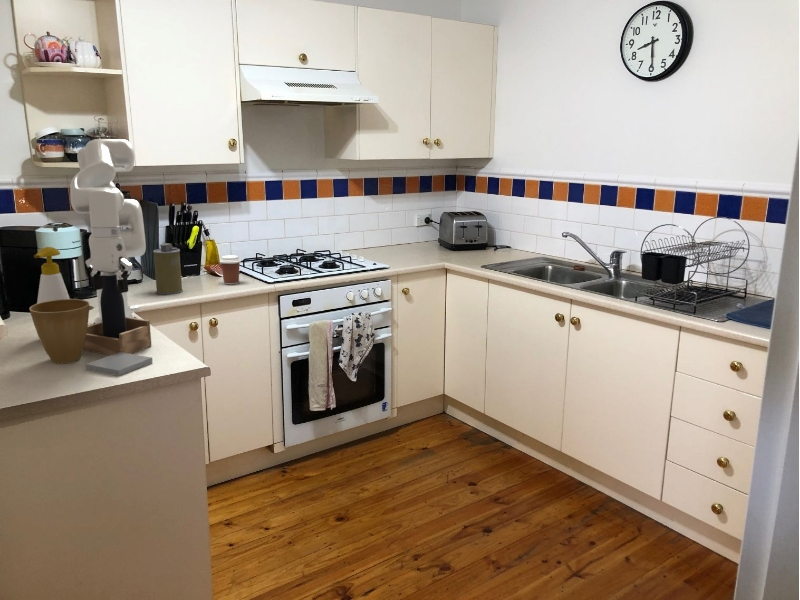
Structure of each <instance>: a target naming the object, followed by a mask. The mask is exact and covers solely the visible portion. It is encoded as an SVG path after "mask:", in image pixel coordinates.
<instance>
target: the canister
mask: <svg viewBox="0 0 800 600" xmlns="http://www.w3.org/2000/svg"><path fill="white" fill-rule="evenodd" d="M159 246H160V248H158V249H154V250H153V251H152V252H153V258H154V259H153V261H154V273H155V286H156V292H155V293H157V294H159V295H176V294H180V293H182V292H184V291H183V284H182V283H183V282H182V271H181V270H182V269H181V268H182V267H181V254H180V253H181V252H180V251H181V250H180V248H178V247H174V246H173V244H172V243H167V242H165V243H162V244H161V243H160V244H159Z"/></svg>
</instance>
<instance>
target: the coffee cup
mask: <svg viewBox="0 0 800 600" xmlns="http://www.w3.org/2000/svg"><path fill="white" fill-rule="evenodd" d="M241 262H242V260H241V258H239V256H238V255H237V254H236V255H233V254H230V255H229V254H228V255H223V256H221V259H220V260H219V263H220V265H221V271H222V279H223V285H226V284H235V285H238V284H240V264H241ZM237 283H238V284H237Z"/></svg>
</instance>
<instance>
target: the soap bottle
mask: <svg viewBox="0 0 800 600" xmlns="http://www.w3.org/2000/svg"><path fill="white" fill-rule="evenodd" d="M59 255H61V251H59V249H57V248H55V247H52V246H45V247H42V248H41V249H39V250H38V251H37V253H36V254H34V255H33V257H34V258H35V259H37V258H38V259H39V258H40V259H42V258H46V262H44V263H42V265H41V274H40V279H39V285H38V287H39V288H38V292H37V293H38V294H37V300H36V301H37V302H36V304H38V303H42V302H46V301H52V300H61V299H71V298H70V294H69V293H68V290H67V287H66V284H65V282H64V279H63V276H62V273H61V272H60V267H59V264H57V262H53V259H52V257H55V256H59Z"/></svg>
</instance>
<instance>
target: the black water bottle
mask: <svg viewBox="0 0 800 600" xmlns="http://www.w3.org/2000/svg"><path fill="white" fill-rule="evenodd" d="M103 274H104V275H103V283H104V285H103V289H102V293H101V300H100V304H101V315H102V325H103V335H104V336H105V337H111V338H117V339H119V334H120V333H123V332H126V331H127V330H126V319H125V308H124V299H123V295H122V293H119V292H118V284H117V275H116V274H115V273H110V272H104V273H103Z"/></svg>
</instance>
